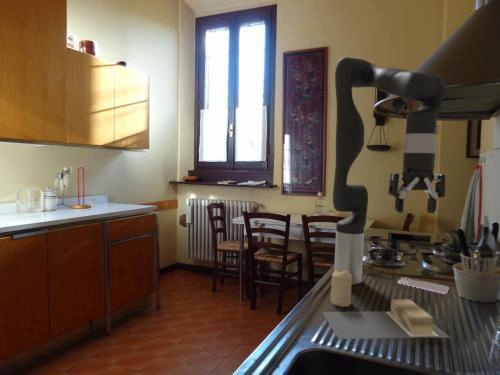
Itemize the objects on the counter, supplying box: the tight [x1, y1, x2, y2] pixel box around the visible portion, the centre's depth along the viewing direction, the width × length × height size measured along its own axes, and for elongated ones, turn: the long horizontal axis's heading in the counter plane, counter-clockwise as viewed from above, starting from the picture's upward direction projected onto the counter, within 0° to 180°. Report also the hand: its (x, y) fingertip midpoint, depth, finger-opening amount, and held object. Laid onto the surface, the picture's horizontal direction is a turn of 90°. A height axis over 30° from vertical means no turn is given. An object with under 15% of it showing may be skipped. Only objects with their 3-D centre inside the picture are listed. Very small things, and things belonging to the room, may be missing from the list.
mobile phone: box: [397, 276, 450, 295], centre depth 118 cm, size 8×1×15 cm
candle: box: [330, 269, 352, 307], centre depth 101 cm, size 6×6×10 cm
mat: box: [321, 310, 451, 340], centre depth 89 cm, size 14×27×1 cm, turn 94°
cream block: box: [390, 298, 434, 334], centre depth 89 cm, size 11×5×4 cm, turn 4°
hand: (415, 212), depth 93 cm, fingers open, 8 cm apart
